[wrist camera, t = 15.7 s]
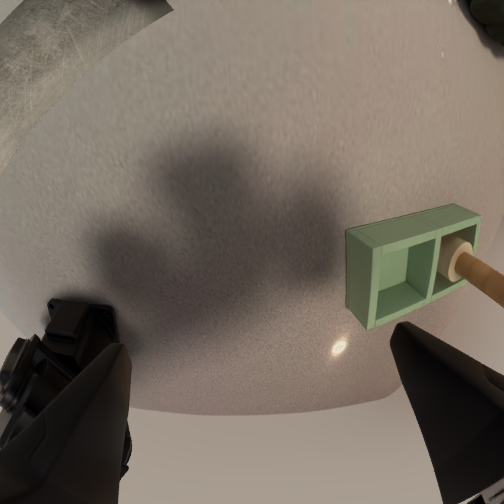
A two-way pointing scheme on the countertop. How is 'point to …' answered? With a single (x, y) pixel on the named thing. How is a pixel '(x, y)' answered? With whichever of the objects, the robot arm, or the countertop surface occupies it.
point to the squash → (490, 16)
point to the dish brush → (469, 267)
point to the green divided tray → (402, 262)
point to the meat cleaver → (57, 54)
